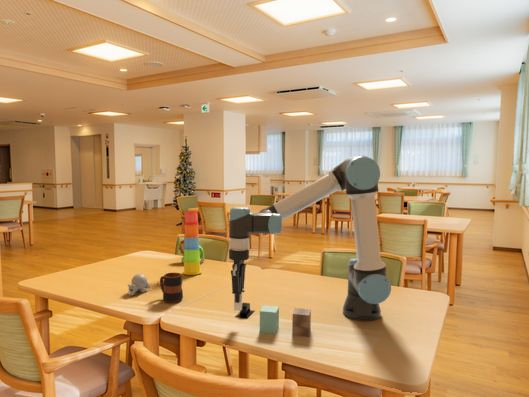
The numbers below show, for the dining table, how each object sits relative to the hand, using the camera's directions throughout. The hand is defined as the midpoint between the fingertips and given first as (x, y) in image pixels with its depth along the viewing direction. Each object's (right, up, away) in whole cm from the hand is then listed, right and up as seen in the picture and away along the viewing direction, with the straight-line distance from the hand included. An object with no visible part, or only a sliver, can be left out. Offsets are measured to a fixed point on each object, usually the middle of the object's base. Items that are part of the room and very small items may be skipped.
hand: (238, 309), depth 151 cm
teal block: (+12, -7, -3) cm, 14 cm away
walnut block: (+24, -7, -5) cm, 25 cm away
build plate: (+2, -6, +13) cm, 14 cm away
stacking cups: (-30, 0, +72) cm, 78 cm away
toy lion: (-35, +2, +97) cm, 103 cm away
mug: (-32, -4, +29) cm, 44 cm away
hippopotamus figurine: (-50, -3, +38) cm, 63 cm away
